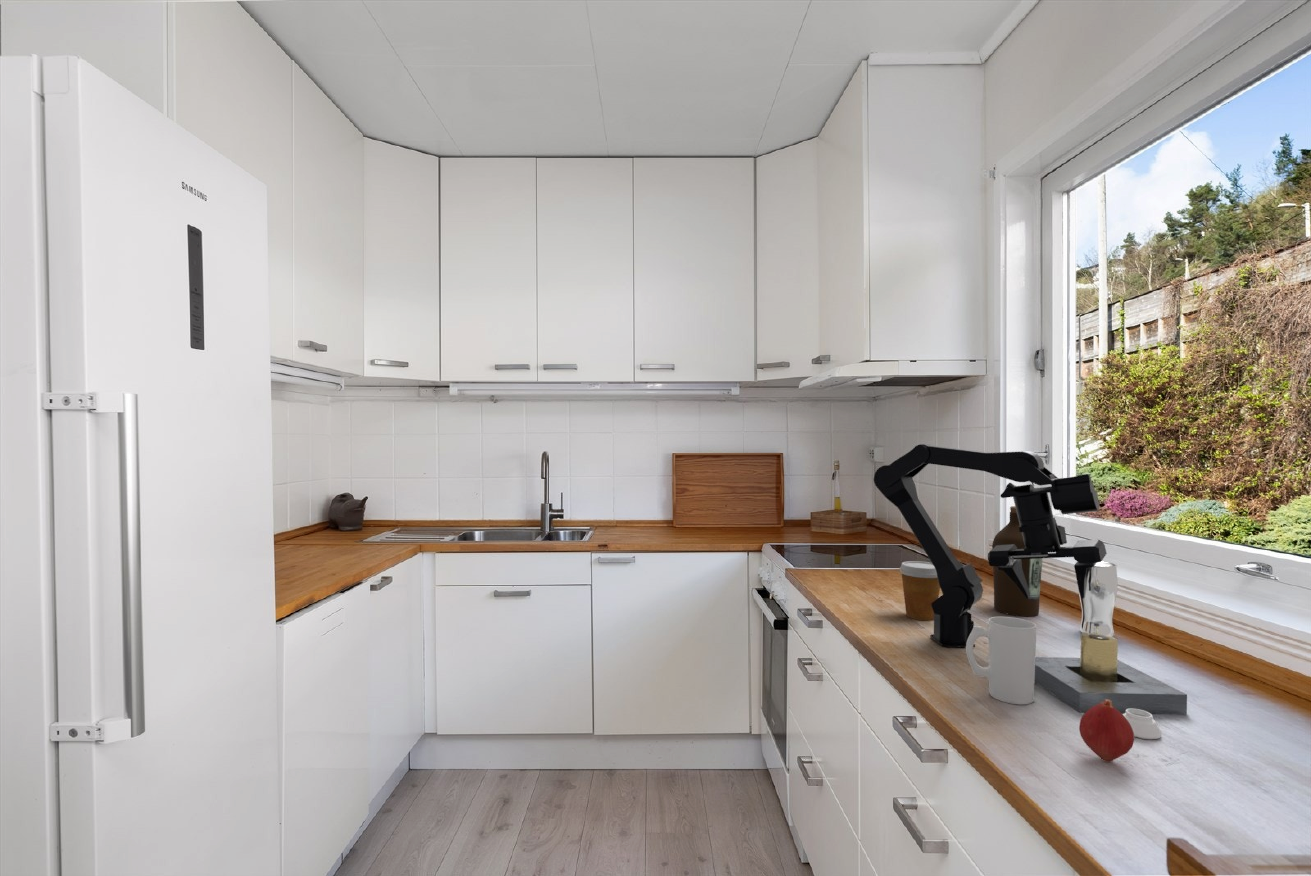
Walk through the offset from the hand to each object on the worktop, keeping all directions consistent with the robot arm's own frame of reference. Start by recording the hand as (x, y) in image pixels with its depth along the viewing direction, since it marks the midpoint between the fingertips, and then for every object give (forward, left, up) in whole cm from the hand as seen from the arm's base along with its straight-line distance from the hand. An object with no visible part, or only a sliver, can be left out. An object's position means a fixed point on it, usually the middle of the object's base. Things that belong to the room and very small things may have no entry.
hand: (1055, 597), depth 123 cm
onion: (-16, -39, -12) cm, 44 cm away
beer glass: (+19, +17, -12) cm, 28 cm away
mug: (-19, -18, -12) cm, 29 cm away
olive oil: (+11, +34, -12) cm, 37 cm away
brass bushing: (-2, -16, -12) cm, 20 cm away
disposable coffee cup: (-14, +28, -12) cm, 33 cm away
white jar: (-6, -31, -12) cm, 33 cm away
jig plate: (-2, -16, -11) cm, 20 cm away
